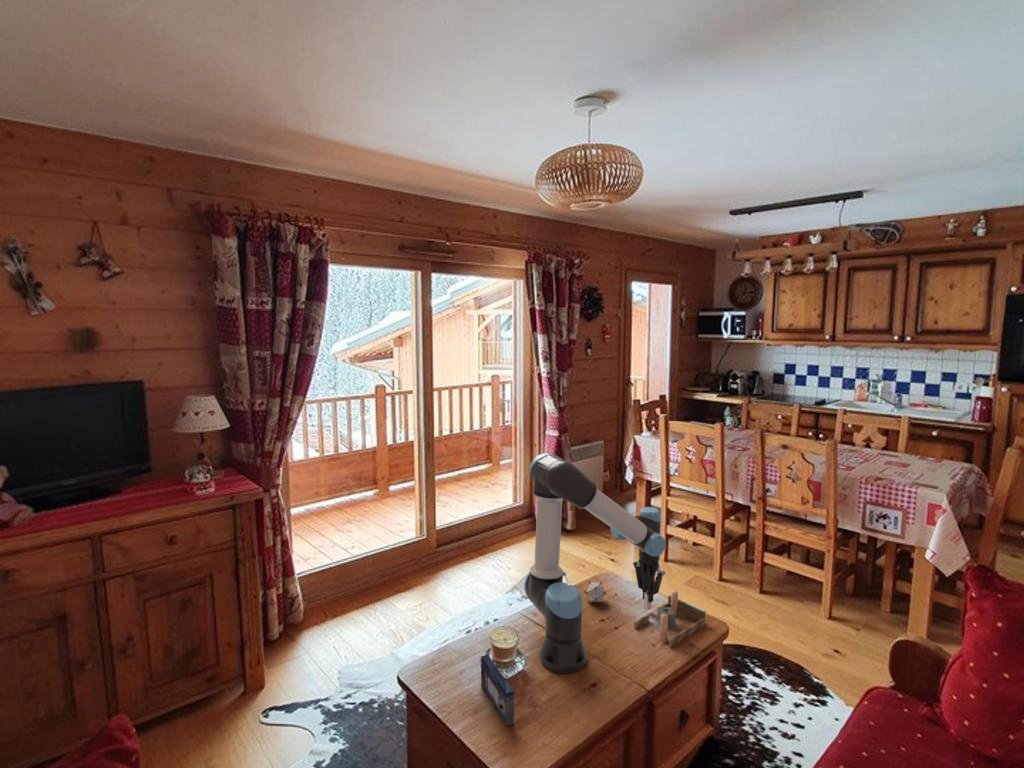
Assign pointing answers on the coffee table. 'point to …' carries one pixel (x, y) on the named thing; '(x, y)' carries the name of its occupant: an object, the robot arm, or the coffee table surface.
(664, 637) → the pin near
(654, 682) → the coffee table surface
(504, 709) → the vhs cassette tape
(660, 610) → the dice cube
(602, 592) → the game die
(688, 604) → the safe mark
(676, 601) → the pin far
